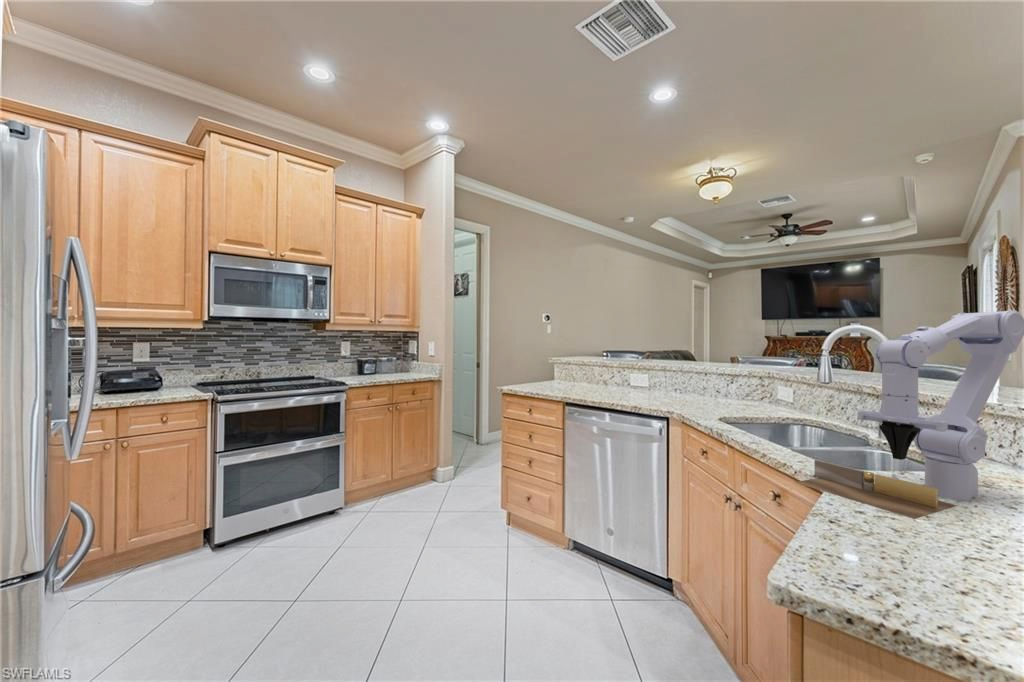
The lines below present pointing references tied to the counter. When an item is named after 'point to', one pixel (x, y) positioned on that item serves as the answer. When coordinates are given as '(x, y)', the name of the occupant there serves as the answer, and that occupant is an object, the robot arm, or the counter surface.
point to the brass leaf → (904, 489)
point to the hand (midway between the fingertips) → (899, 458)
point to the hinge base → (864, 490)
